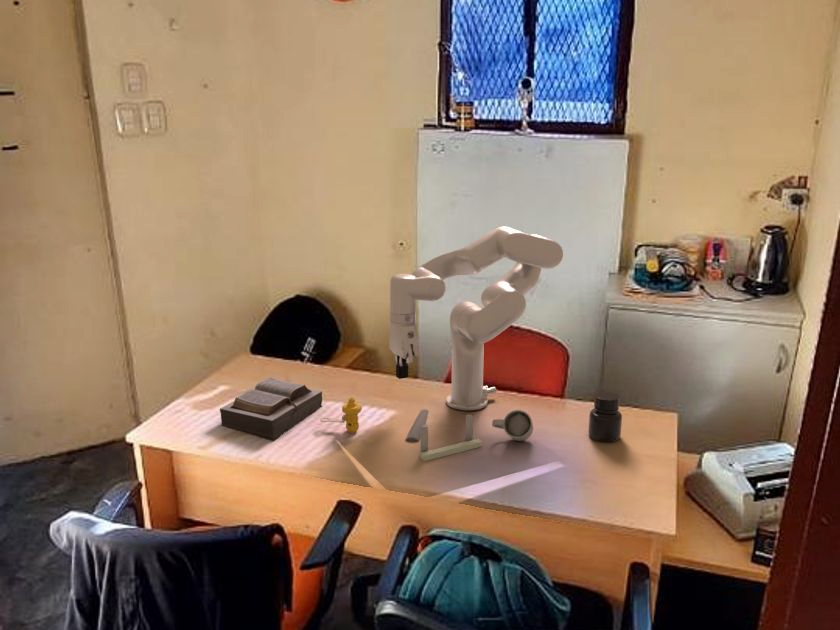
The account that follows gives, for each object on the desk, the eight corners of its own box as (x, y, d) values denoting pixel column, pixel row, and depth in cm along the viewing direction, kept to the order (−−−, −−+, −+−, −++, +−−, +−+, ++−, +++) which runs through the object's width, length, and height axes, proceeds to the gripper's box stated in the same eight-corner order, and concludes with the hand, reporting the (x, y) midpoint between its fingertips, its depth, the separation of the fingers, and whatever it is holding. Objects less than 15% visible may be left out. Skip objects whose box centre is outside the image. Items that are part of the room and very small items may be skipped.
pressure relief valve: (358, 436, 220) (357, 403, 217) (317, 432, 222) (316, 399, 219) (363, 428, 225) (363, 395, 222) (323, 424, 227) (322, 392, 224)
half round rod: (404, 442, 217) (404, 436, 217) (417, 414, 236) (417, 408, 235) (419, 443, 216) (419, 437, 216) (431, 415, 235) (431, 409, 234)
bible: (334, 415, 234) (333, 384, 232) (263, 446, 214) (261, 413, 211) (282, 396, 248) (280, 367, 246) (211, 424, 228) (208, 392, 226)
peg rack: (473, 440, 217) (473, 413, 215) (481, 446, 213) (482, 419, 211) (415, 454, 209) (415, 426, 207) (423, 461, 205) (424, 433, 203)
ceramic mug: (525, 446, 217) (539, 422, 218) (522, 443, 209) (536, 418, 210) (492, 427, 220) (506, 403, 221) (488, 423, 213) (502, 398, 213)
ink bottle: (623, 431, 223) (626, 391, 219) (621, 444, 215) (624, 403, 211) (588, 426, 226) (590, 387, 222) (584, 439, 218) (587, 399, 214)
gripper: (427, 322, 220) (425, 383, 225) (402, 309, 233) (401, 367, 238) (403, 325, 217) (402, 387, 222) (379, 312, 229) (379, 371, 234)
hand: (402, 377), depth 230 cm, fingers closed
